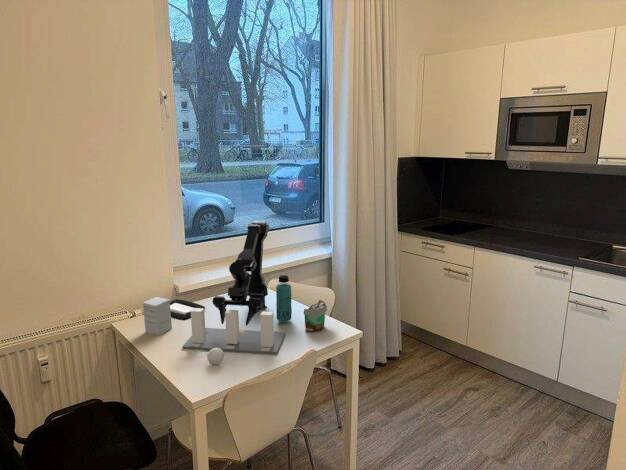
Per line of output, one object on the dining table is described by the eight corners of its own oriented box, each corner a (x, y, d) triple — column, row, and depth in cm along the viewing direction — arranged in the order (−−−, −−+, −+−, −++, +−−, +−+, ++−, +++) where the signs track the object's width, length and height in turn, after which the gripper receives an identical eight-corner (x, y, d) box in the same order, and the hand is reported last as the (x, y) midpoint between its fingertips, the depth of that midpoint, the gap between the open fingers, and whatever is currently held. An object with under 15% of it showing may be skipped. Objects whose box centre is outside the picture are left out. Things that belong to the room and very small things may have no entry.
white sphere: (225, 358, 149) (224, 344, 148) (224, 367, 144) (223, 352, 142) (202, 360, 148) (201, 345, 147) (200, 368, 143) (199, 353, 141)
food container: (316, 336, 165) (316, 312, 163) (303, 333, 169) (303, 309, 166) (332, 325, 176) (332, 302, 173) (319, 321, 179) (319, 299, 176)
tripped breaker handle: (229, 339, 160) (227, 309, 157) (239, 340, 159) (238, 310, 157) (226, 343, 157) (225, 312, 154) (237, 344, 157) (235, 313, 154)
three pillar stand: (199, 329, 171) (197, 298, 168) (285, 334, 167) (284, 302, 164) (182, 349, 156) (179, 314, 153) (276, 354, 152) (276, 319, 149)
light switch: (152, 308, 188) (176, 295, 200) (153, 314, 189) (177, 301, 201) (184, 318, 179) (207, 304, 190) (185, 324, 179) (208, 310, 191)
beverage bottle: (273, 323, 177) (272, 277, 172) (280, 317, 183) (279, 272, 178) (287, 326, 174) (287, 279, 170) (294, 320, 180) (294, 274, 176)
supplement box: (159, 325, 176) (156, 296, 173) (172, 328, 172) (170, 299, 169) (144, 332, 169) (141, 302, 166) (158, 336, 166) (155, 305, 163)
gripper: (212, 276, 161) (203, 315, 153) (260, 278, 159) (254, 318, 151) (220, 288, 171) (212, 326, 163) (266, 290, 169) (260, 328, 160)
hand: (234, 324), depth 159 cm, fingers open, 9 cm apart
